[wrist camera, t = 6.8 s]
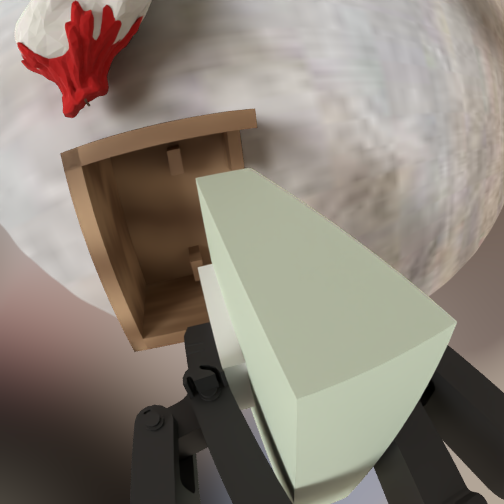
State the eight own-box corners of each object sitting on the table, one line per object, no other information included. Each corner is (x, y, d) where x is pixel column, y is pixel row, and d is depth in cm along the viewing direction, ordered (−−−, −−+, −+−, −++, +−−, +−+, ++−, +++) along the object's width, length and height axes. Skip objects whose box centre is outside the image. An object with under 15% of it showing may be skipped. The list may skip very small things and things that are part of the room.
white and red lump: (150, -42, 13) (162, 92, 22) (38, -6, 11) (51, 125, 20) (148, -85, 6) (160, 95, 15) (-2, -28, 4) (8, 146, 13)
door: (270, 343, 18) (347, 496, 8) (232, 353, 17) (293, 517, 8) (250, 167, 13) (457, 321, 3) (195, 178, 12) (297, 399, 3)
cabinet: (96, 140, 21) (60, 153, 13) (240, 109, 24) (274, 106, 16) (139, 291, 29) (134, 351, 21) (259, 263, 31) (289, 315, 23)
